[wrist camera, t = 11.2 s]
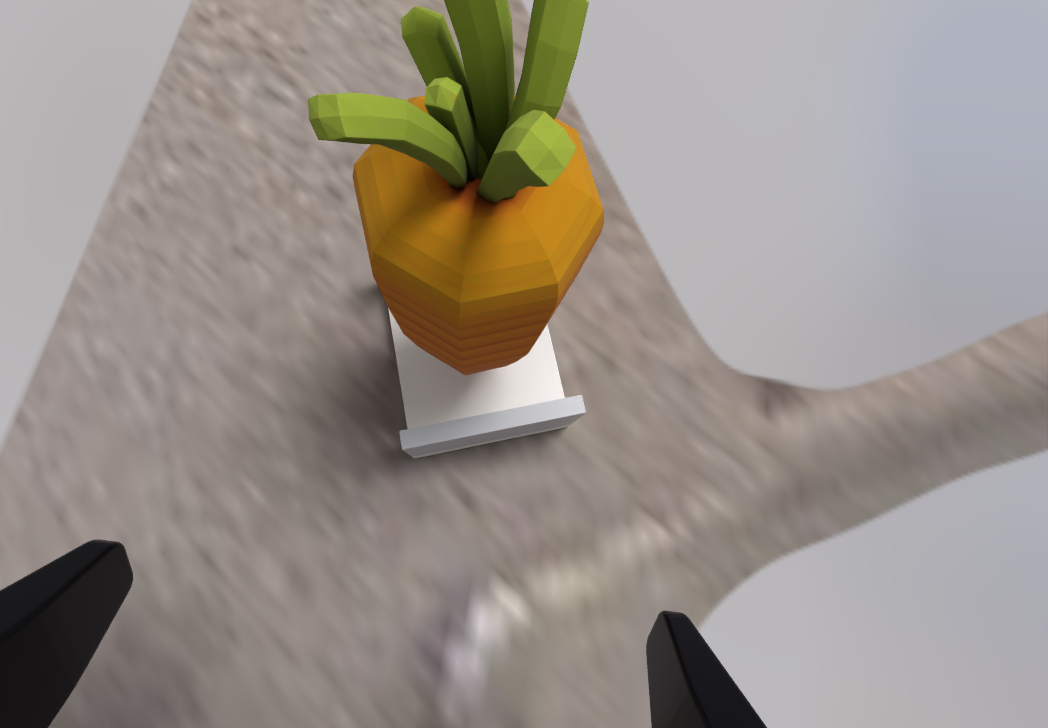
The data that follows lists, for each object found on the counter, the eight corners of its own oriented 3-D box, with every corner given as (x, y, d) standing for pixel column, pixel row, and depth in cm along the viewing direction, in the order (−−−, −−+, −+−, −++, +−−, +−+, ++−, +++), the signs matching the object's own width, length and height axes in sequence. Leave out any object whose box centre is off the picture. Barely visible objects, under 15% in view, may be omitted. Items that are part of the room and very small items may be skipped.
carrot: (527, 423, 19) (715, 190, 5) (395, 403, 19) (169, 87, 4) (544, 302, 21) (728, -165, 6) (420, 281, 20) (310, -266, 6)
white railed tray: (567, 427, 20) (586, 412, 17) (414, 458, 19) (402, 449, 16) (527, 258, 22) (537, 213, 18) (385, 279, 21) (368, 237, 18)
